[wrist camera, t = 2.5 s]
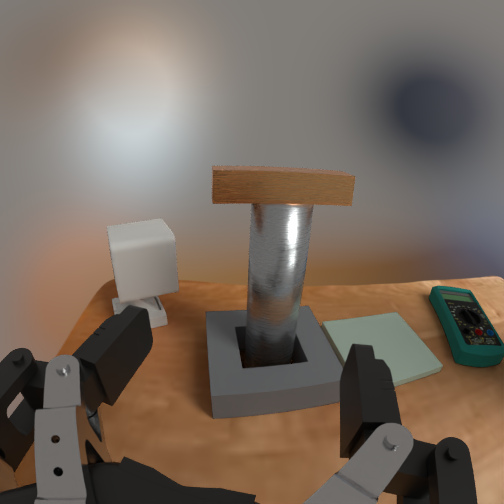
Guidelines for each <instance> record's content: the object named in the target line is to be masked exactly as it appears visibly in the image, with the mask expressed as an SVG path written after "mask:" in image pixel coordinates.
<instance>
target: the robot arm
mask: <svg viewBox="0 0 504 504" xmlns="http://www.w3.org/2000/svg"><path fill="white" fill-rule="evenodd" d="M152 343H153V337H152V331H151V325H150V319H149V313H148V310H147V309H146V308H142V307H137V306H133V305H128V306H127V307H126V308H125V309H124V310H123V311H122V312H121V313H120V314H115V315H113V316H112V317H110V318H108V319H106V320H105V321H104V322H103V323H102V324H101V325H100V326H99V328H97V329H96V330H95V332H94V333H93V334H92V335H91V336H90V337H89V338H88V339H87V340H86V341H85V342H84V343H83V344H82V345H81V346H80V347H79V348H78V349H77V350H76V351H75V353H74V354H73V355H72V356H71V355H60V356H57V357H55V358H53V359H52V360H51V361H50V362H43V361H37V360H35V359H34V357H33V355H32V353H31V351H30V350H28V349H26V348H19V349H15V350H13V351H12V352H10V353H9V354H8V355H7V356H6V357H5V358H4V359H3V360H2V361H1V362H0V504H260V503H257V502H255V497H256V495H252V494H247V493H241V492H236V491H231V490H226V489H222V488H200V487H186V486H182V485H180V484H178V483H176V482H175V481H173V480H171V479H170V478H168V477H166V476H165V475H163V474H161V473H160V472H158V471H157V470H155V469H154V468H151V467H149V466H146V465H144V464H141V463H139V462H136V461H134V460H131V459H129V458H126V457H124V458H123V459H122V461H121V463H117V462H112V460H111V457H110V455H109V453H108V450H107V447H106V442H105V437H104V431H103V425H102V418H101V411H100V408H99V406H100V404H101V403H102V402H104V403H106V404H108V405H111V406H113V404H114V403H115V401H116V400H117V398H118V397H119V395H120V394H121V393H122V391H123V390H124V388H125V387H126V385H127V384H128V382H129V381H130V379H131V378H132V377H133V375H134V374H135V372H136V371H137V369H138V368H139V366H140V365H141V364H142V362H143V361H144V359H145V358H146V356H147V355H148V353H149V352H150V350H151V348H152ZM392 381H393V379H392V374H391V370H390V368H389V367H388V365H387V364H386V363H385V361H384V360H383V359H375V355H374V350H373V346H372V345H364V344H352V345H351V348H350V350H349V353H348V356H347V359H346V362H345V365H344V368H343V370H342V374H341V378H340V458H349V461H348V462H347V463H346V464H345V465H344V466H343V467H342V469H341V470H340V471H338V472H337V473H335V474H334V475H333V476H332V477H331V478H330V479H329V480H328V481H327V482H326V483H325V484H324V485H323V486H322V487H321V488H319V489H318V490H317V491H316V492H315V493H314V494H313V495H312V496H311V497H310V498H308V499H307V500H306V501H305V502H304V503H303V504H376V503H377V501H378V497H379V495H380V494H381V493H382V492H386V493H391V494H395V495H397V504H477V496H476V488H475V480H474V474H473V468H472V462H471V457H470V452H469V449H468V447H467V445H466V444H465V443H464V442H463V441H462V440H460V439H458V438H455V437H448V438H445V439H443V440H441V441H440V442H439V443H438V444H437V445H435V444H430V443H426V442H422V441H418V440H416V439H413V437H412V435H411V433H410V432H409V430H408V429H407V428H405V427H404V426H402V424H401V419H400V413H399V408H398V403H397V398H396V393H395V391H394V389H395V388H394V383H393V382H392ZM19 392H21V394H22V395H23V397H24V399H23V401H22V402H21V403H20V404H19V406H18V407H17V408H16V410H15V411H14V412H13V414H12V415H11V416H10V418H8V417H7V408H8V406H9V405H10V404H11V402H12V401H13V400H14V399H15V397H16V396H17V395H18V394H19ZM34 441H35V469H36V482H37V483H34V484H30V485H26V486H23V487H19V488H17V486H18V484H17V481H16V480H15V479H14V477H15V476H14V472H15V471H16V469H17V467H18V466H19V464H20V462H21V461H22V459H23V458H24V456H25V455H26V453H27V451H28V450H29V448H30V447H31V445H32V444H33V442H34Z"/></svg>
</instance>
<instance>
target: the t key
mask: <svg viewBox="0 0 504 504" xmlns="http://www.w3.org/2000/svg"><path fill="white" fill-rule="evenodd" d="M354 183H355V176H353V175H350V174H348V173H345V172H342V171H333V170H320V169H305V168H288V167H263V166H261V167H260V166H212V202H213V204H225V203H227V204H228V203H251V225H250V248H249V270H248V292H247V316H246V339H245V363H244V368H256V367H267V366H277V365H286V364H290V363H291V358H292V352H293V346H294V341H295V335H296V329H297V323H298V317H299V310H300V304H301V298H302V291H303V284H304V277H305V270H306V262H307V255H308V247H309V239H310V230H311V223H312V214H313V205H314V204H316V205H343V206H351V205H352V198H353V191H354Z"/></svg>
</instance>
